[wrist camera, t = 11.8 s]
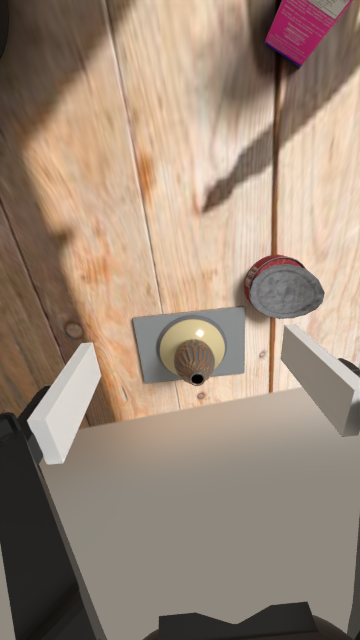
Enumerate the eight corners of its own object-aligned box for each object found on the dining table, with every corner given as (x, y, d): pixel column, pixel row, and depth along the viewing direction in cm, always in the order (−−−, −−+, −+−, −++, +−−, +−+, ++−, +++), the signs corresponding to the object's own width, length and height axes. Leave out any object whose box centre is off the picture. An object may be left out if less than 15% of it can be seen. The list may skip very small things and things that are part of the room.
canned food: (279, 294, 47) (299, 335, 41) (232, 289, 45) (244, 331, 39) (315, 244, 38) (346, 286, 32) (258, 236, 36) (279, 279, 30)
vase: (198, 371, 45) (204, 404, 37) (167, 357, 44) (166, 387, 36) (218, 343, 43) (229, 371, 35) (185, 327, 41) (189, 352, 33)
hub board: (133, 317, 43) (131, 321, 41) (243, 305, 42) (246, 309, 41) (145, 380, 48) (144, 387, 46) (243, 370, 48) (246, 376, 46)
